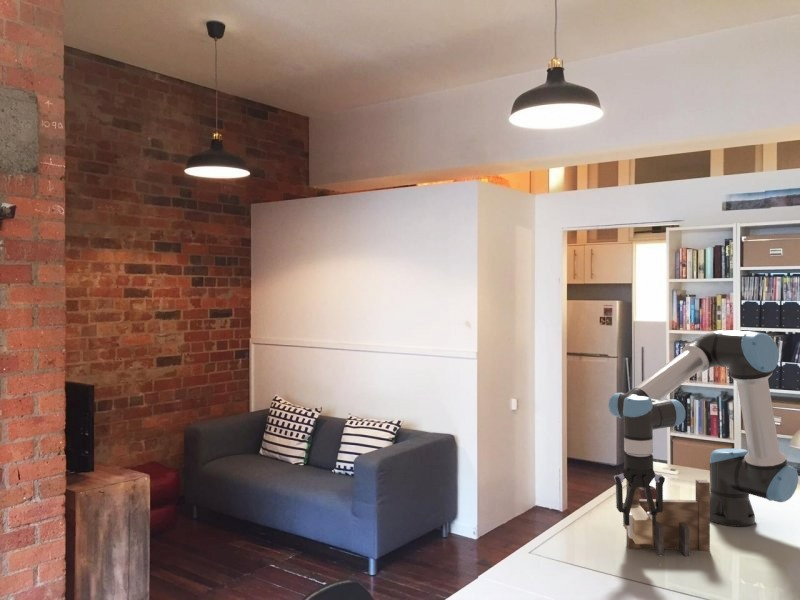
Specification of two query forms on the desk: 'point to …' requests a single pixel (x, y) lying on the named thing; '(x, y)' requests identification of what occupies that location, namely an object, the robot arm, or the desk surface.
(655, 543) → the wooden u-shaped stand
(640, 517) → the tan rectangular block
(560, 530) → the desk surface
